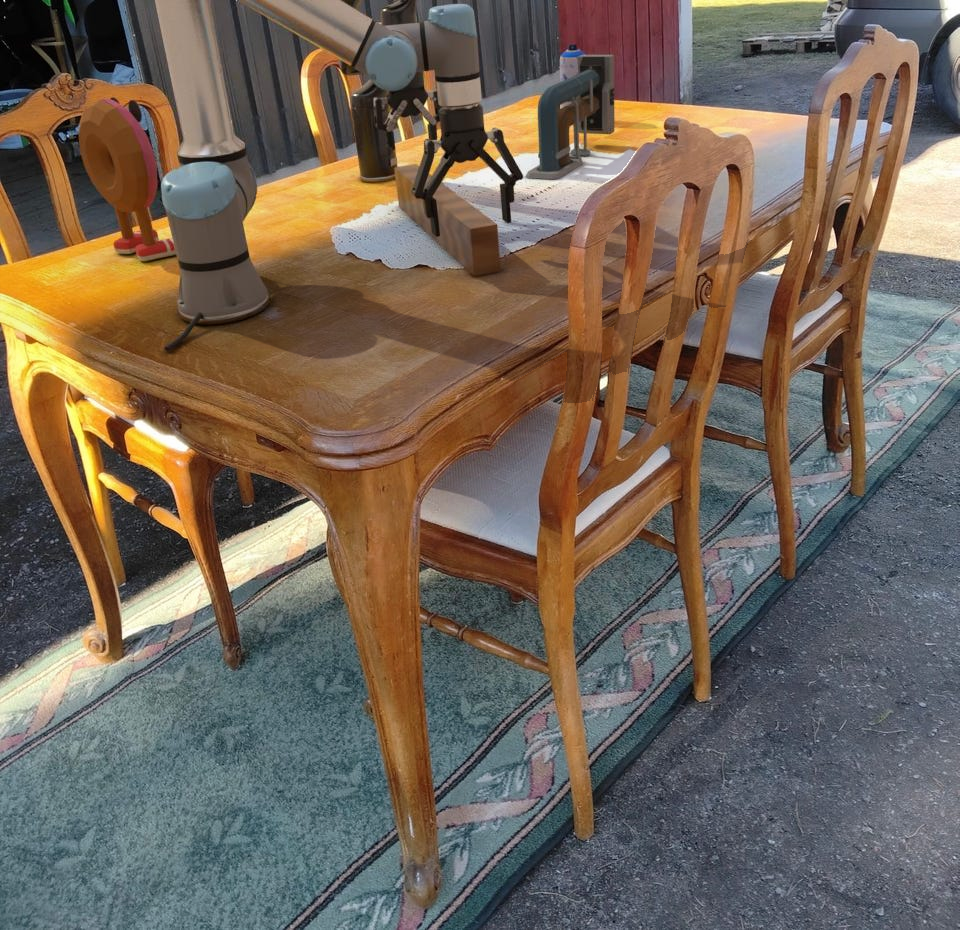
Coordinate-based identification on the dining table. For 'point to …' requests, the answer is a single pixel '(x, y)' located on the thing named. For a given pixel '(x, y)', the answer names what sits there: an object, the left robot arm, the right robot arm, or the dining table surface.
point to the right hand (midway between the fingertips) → (412, 146)
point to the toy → (123, 172)
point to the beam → (453, 224)
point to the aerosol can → (569, 65)
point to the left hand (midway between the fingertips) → (471, 227)
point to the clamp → (574, 115)
